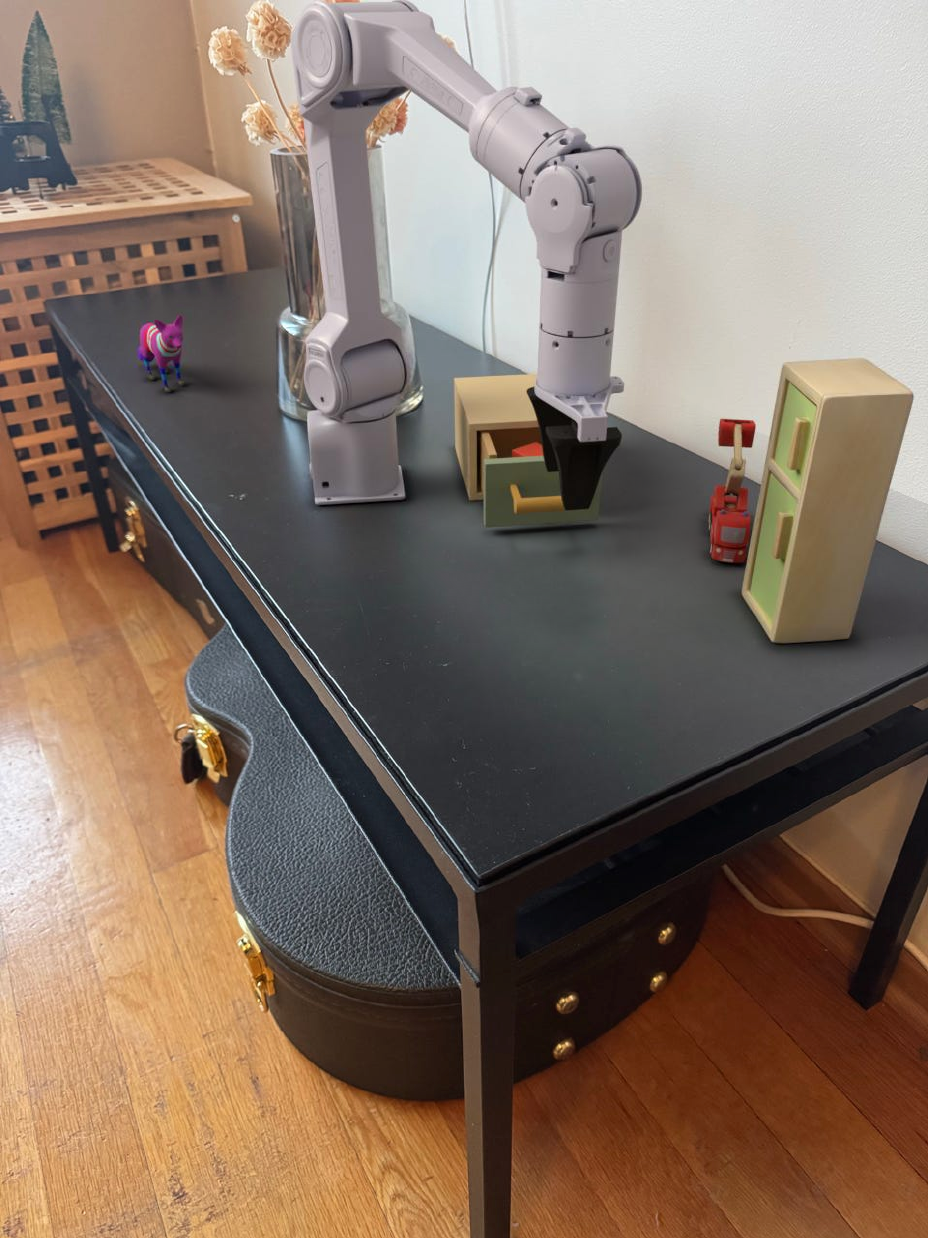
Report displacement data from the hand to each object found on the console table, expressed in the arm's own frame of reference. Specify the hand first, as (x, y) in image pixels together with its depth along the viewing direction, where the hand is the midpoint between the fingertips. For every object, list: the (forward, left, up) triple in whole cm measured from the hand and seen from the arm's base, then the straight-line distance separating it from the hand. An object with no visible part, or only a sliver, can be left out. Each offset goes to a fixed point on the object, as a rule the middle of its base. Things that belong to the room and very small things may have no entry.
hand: (566, 488), depth 77 cm
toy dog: (-44, +60, -10) cm, 75 cm away
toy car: (0, +15, -7) cm, 16 cm away
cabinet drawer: (0, +13, -9) cm, 16 cm away
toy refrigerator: (+18, -8, -10) cm, 22 cm away
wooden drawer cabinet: (0, +24, -9) cm, 26 cm away
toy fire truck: (+18, +7, -10) cm, 22 cm away
